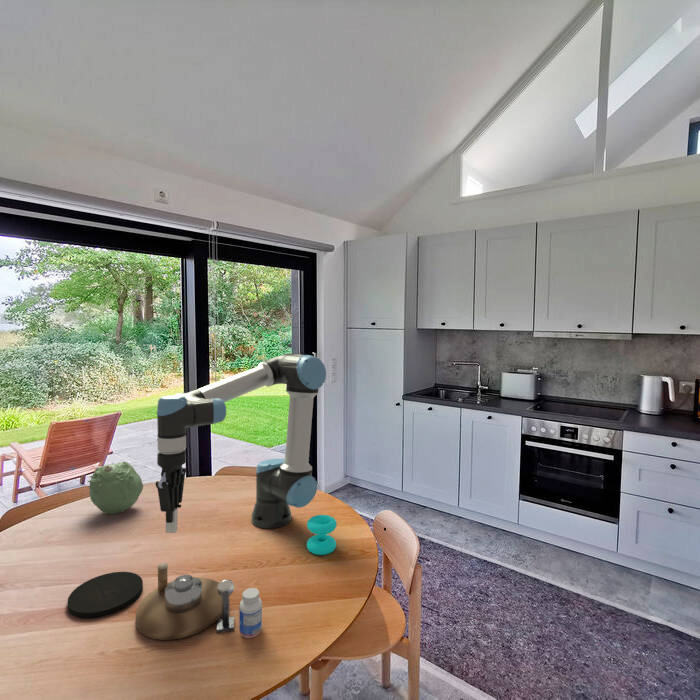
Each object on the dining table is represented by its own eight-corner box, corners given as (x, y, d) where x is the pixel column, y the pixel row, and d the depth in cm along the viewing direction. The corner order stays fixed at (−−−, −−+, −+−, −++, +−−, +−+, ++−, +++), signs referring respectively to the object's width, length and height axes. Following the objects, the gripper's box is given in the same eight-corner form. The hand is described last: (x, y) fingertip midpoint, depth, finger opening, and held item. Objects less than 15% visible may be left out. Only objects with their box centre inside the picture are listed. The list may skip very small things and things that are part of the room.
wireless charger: (95, 577, 124) (95, 570, 124) (154, 579, 124) (154, 572, 124) (50, 618, 107) (50, 611, 107) (119, 621, 106) (119, 614, 106)
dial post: (234, 619, 107) (234, 574, 107) (233, 630, 103) (234, 583, 103) (217, 621, 106) (217, 576, 106) (216, 633, 102) (216, 586, 102)
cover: (203, 588, 116) (203, 567, 115) (200, 610, 107) (200, 587, 107) (168, 593, 113) (167, 571, 113) (162, 615, 105) (161, 592, 104)
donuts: (300, 519, 141) (322, 510, 149) (300, 548, 142) (322, 538, 149) (321, 529, 135) (342, 519, 142) (320, 560, 135) (342, 548, 143)
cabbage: (150, 509, 169) (150, 461, 168) (99, 526, 154) (98, 473, 153) (132, 499, 179) (131, 453, 178) (82, 514, 164) (81, 464, 163)
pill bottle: (241, 623, 106) (241, 585, 105) (263, 622, 106) (263, 585, 106) (237, 639, 100) (237, 600, 100) (260, 638, 101) (260, 599, 100)
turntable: (228, 578, 123) (228, 551, 123) (225, 631, 102) (225, 598, 101) (146, 588, 118) (146, 560, 117) (125, 646, 96) (124, 612, 96)
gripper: (171, 443, 126) (170, 520, 127) (146, 456, 113) (146, 542, 114) (195, 444, 125) (194, 522, 127) (172, 458, 112) (172, 544, 114)
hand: (171, 531), depth 121 cm, fingers closed
